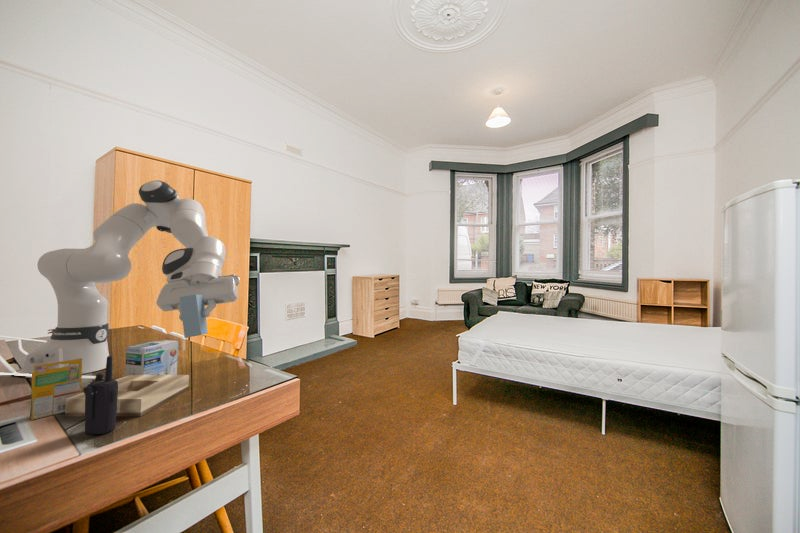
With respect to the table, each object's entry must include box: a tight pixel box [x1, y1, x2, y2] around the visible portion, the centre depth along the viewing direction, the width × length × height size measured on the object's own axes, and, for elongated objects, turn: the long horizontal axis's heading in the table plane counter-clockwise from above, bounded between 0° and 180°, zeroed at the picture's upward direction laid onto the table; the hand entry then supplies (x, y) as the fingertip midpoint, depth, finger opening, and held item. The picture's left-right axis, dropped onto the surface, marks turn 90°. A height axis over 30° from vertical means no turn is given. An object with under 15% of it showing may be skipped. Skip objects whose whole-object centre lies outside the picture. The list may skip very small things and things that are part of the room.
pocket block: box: [64, 374, 190, 418], centre depth 74 cm, size 16×16×4 cm
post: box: [180, 295, 209, 339], centre depth 82 cm, size 4×4×11 cm
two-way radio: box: [82, 355, 118, 435], centre depth 59 cm, size 6×4×15 cm
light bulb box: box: [124, 339, 179, 376], centre depth 89 cm, size 11×7×11 cm, turn 168°
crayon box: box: [29, 358, 83, 421], centre depth 67 cm, size 7×3×12 cm, turn 145°
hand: (194, 317), depth 82 cm, fingers closed on post, 4 cm apart
